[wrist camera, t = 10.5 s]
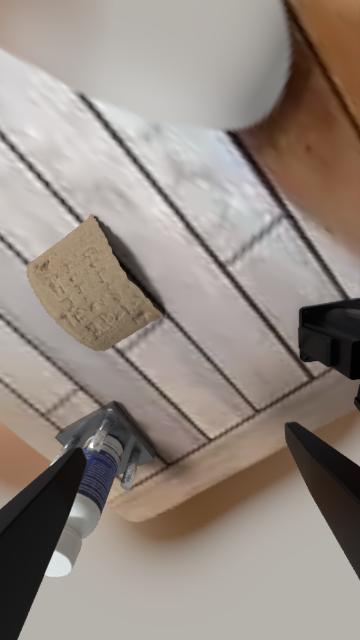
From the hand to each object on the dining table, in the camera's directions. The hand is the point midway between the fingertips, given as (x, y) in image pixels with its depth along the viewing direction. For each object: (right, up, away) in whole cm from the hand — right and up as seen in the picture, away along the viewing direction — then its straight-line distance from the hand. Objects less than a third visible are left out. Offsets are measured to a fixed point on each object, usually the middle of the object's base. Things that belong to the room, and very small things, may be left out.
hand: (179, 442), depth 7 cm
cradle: (-10, -12, +17) cm, 24 cm away
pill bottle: (-10, -12, +16) cm, 23 cm away
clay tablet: (-9, +9, +13) cm, 18 cm away
